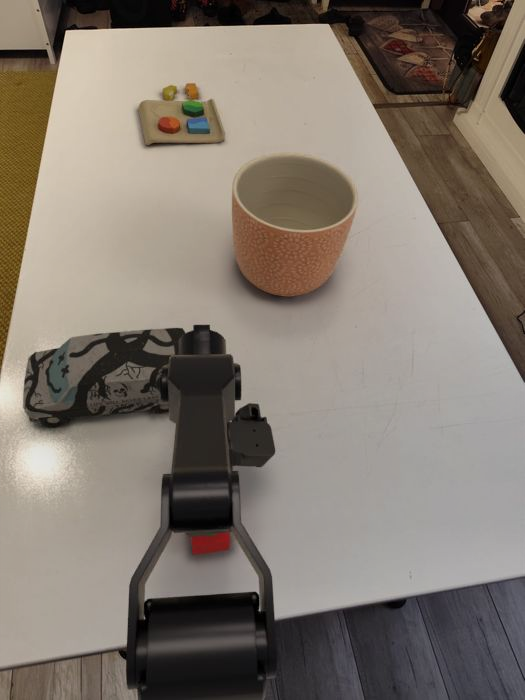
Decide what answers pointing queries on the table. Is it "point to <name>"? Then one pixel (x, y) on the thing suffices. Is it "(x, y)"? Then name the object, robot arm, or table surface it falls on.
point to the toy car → (98, 376)
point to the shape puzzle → (180, 119)
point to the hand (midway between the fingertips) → (204, 482)
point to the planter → (290, 221)
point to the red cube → (210, 543)
